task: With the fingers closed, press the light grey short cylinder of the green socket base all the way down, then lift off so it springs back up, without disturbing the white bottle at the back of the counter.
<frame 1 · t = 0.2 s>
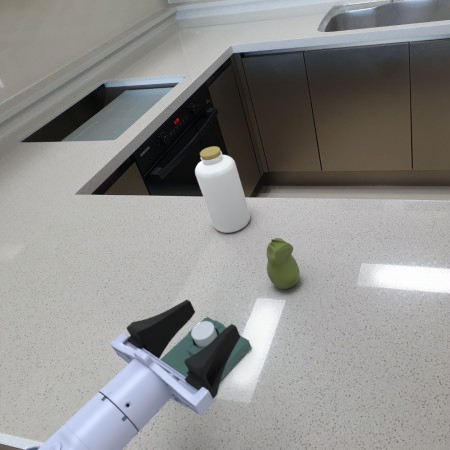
hand: (212, 317, 54), 19 cm above the table, tool horizontal, fingers open, 7 cm apart
light grey short cylinder: (204, 334, 71), point 5 cm above the table, slide at 0.1 cm
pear: (287, 284, 83), on the table
green socket base: (203, 361, 73), on the table
white bottle: (233, 223, 102), on the table
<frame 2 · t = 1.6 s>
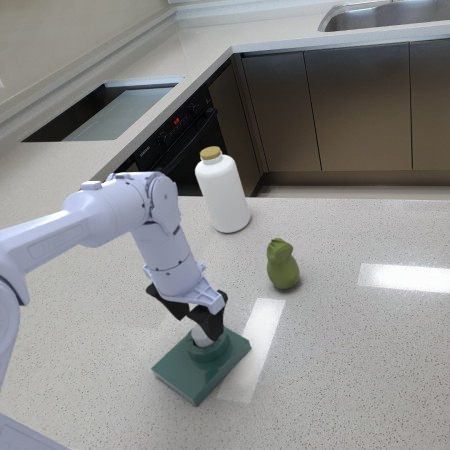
hand: (200, 325, 67), 9 cm above the table, tool pointing down, fingers open, 7 cm apart
nothing on the table moved.
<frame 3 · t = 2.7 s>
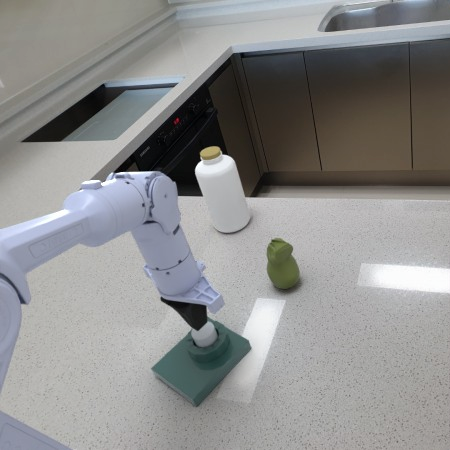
hand: (199, 324, 67), 9 cm above the table, tool pointing down, fingers closed
nothing on the table moved.
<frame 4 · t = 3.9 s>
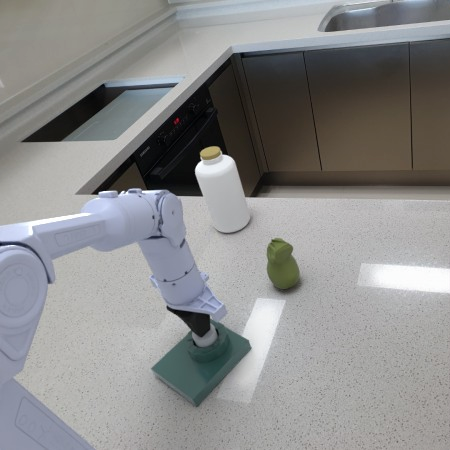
hand: (203, 331, 71), 5 cm above the table, tool pointing down, fingers closed, pressing on light grey short cylinder
light grey short cylinder: (205, 335, 71), point 4 cm above the table, slide at -0.3 cm, touching gripper
everything else where it was.
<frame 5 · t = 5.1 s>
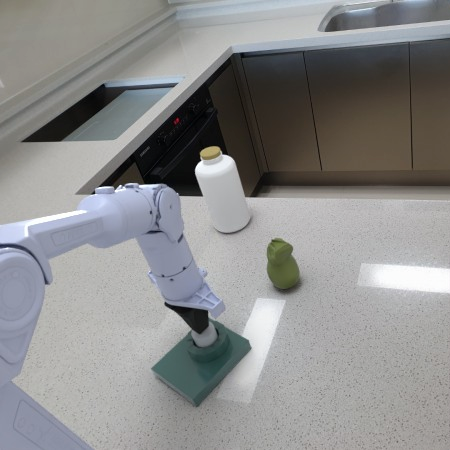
hand: (201, 328, 70), 6 cm above the table, tool pointing down, fingers closed
light grey short cylinder: (204, 334, 71), point 5 cm above the table, slide at 0.1 cm
everything else where it was.
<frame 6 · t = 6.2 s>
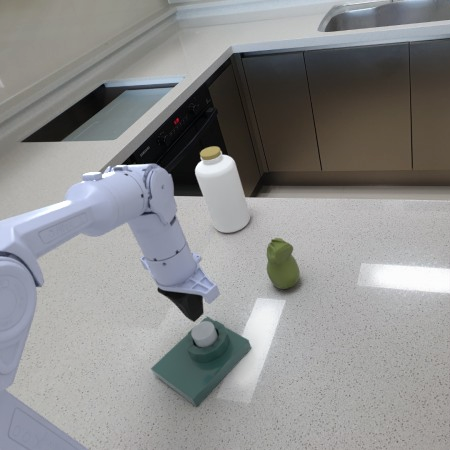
hand: (196, 315, 68), 9 cm above the table, tool pointing down, fingers closed
nothing on the table moved.
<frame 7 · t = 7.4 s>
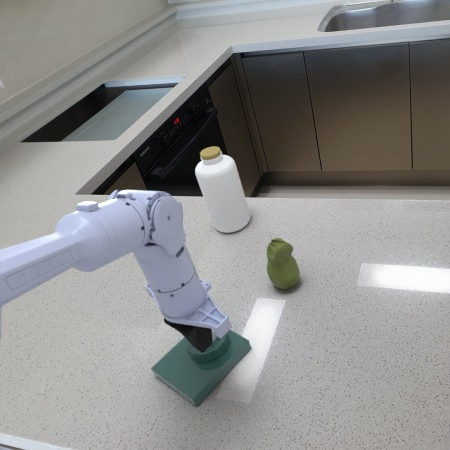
hand: (204, 346, 64), 8 cm above the table, tool pointing down, fingers closed
nothing on the table moved.
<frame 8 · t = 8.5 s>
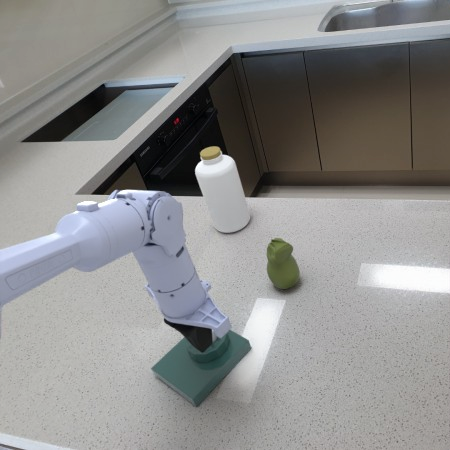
hand: (204, 346, 64), 8 cm above the table, tool pointing down, fingers closed
nothing on the table moved.
at the end: light grey short cylinder pushed in 1.4 cm at the most during the clip, back to where it started at the end; light grey short cylinder slide at 0.1 cm; white bottle moved 0.2 cm from its start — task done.
